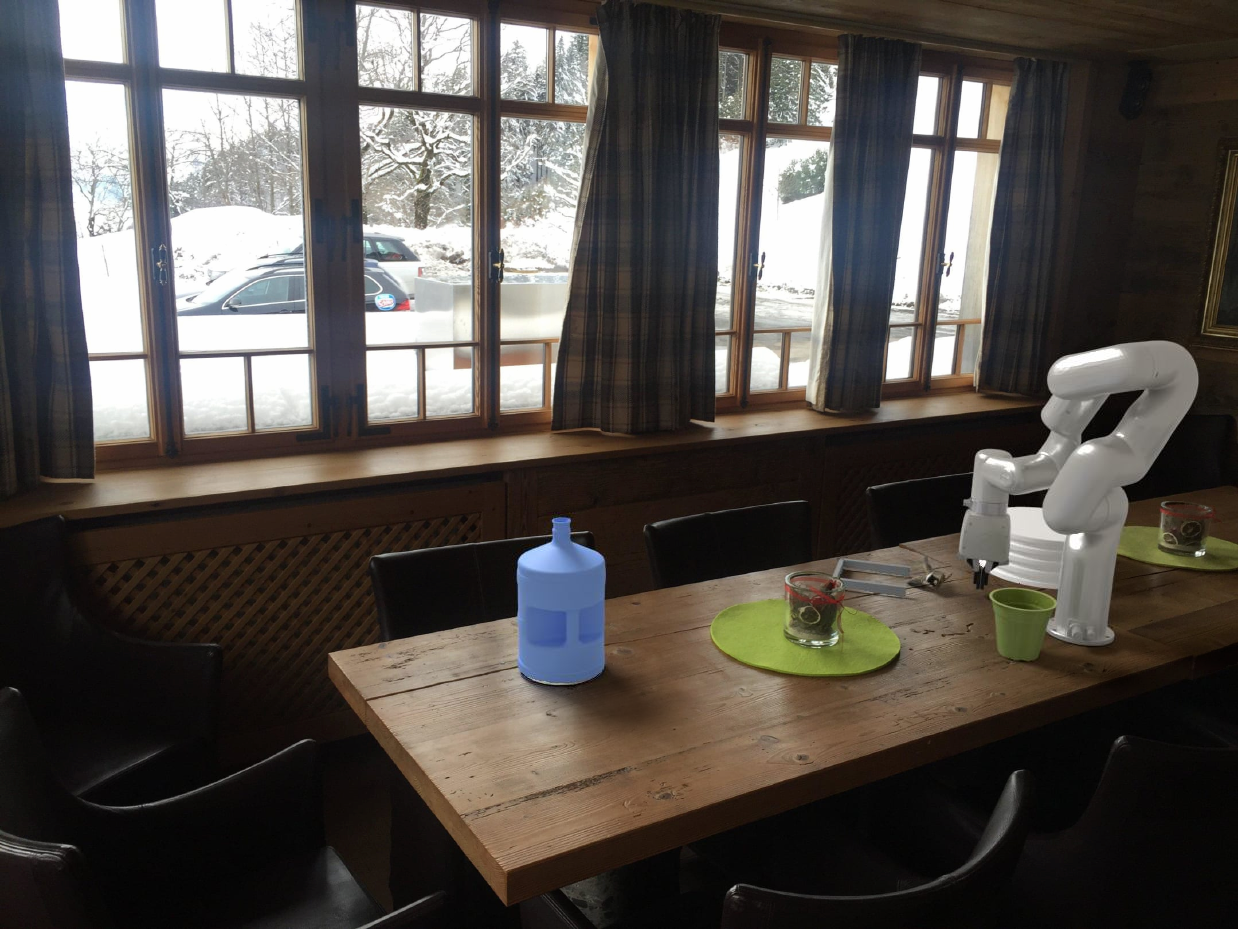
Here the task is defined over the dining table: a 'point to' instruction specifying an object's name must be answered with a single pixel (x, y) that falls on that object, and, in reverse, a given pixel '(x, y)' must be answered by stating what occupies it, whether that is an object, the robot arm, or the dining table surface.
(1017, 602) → the plant pot
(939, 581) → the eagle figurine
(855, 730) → the dining table surface
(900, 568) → the gray frame
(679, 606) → the dining table surface
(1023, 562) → the plate stack
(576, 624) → the water jug
